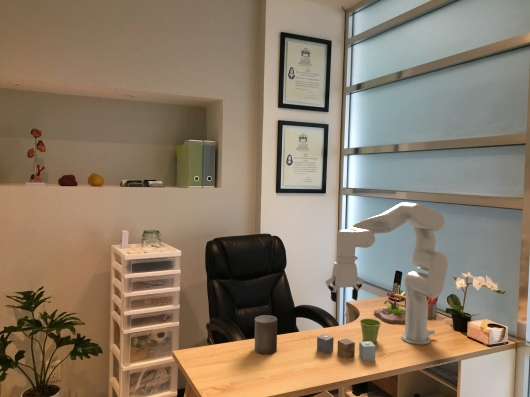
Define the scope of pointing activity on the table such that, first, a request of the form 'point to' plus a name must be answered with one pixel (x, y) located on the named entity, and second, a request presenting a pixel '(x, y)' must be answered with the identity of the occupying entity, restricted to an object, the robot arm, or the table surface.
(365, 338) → the plant pot
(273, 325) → the pillar candle
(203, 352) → the table surface
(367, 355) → the slate block
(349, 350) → the walnut block
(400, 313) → the plant
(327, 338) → the charcoal block
